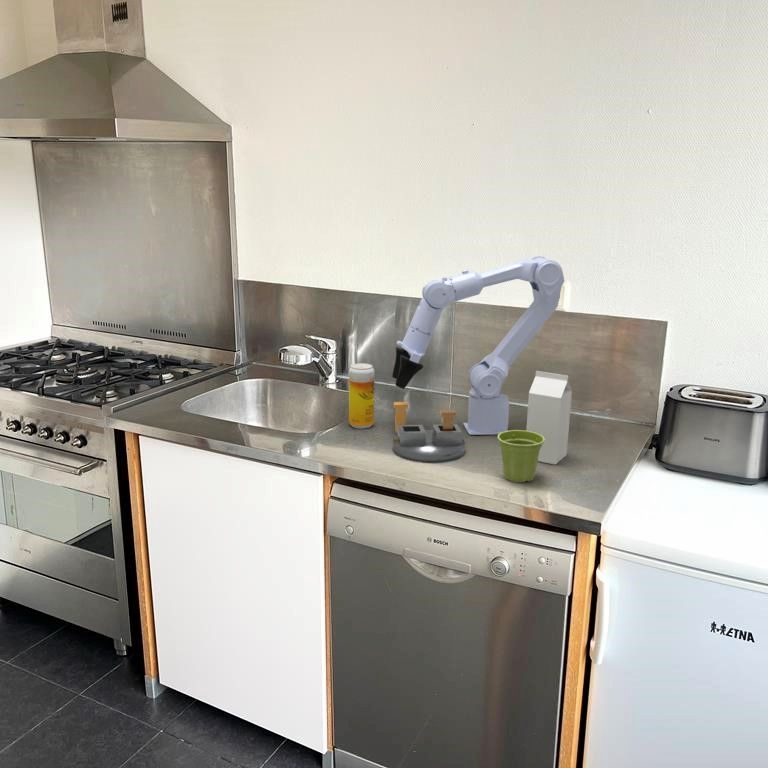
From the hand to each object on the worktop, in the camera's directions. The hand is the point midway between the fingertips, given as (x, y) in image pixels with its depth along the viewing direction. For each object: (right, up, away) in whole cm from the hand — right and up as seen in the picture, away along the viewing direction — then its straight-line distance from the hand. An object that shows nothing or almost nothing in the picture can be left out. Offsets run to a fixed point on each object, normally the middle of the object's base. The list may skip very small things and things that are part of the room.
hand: (397, 382), depth 180 cm
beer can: (-9, -11, +7) cm, 16 cm away
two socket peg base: (+7, -15, -9) cm, 19 cm away
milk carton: (+32, -17, -12) cm, 38 cm away
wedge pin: (+1, -12, +3) cm, 12 cm away
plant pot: (+24, -20, -24) cm, 39 cm away
